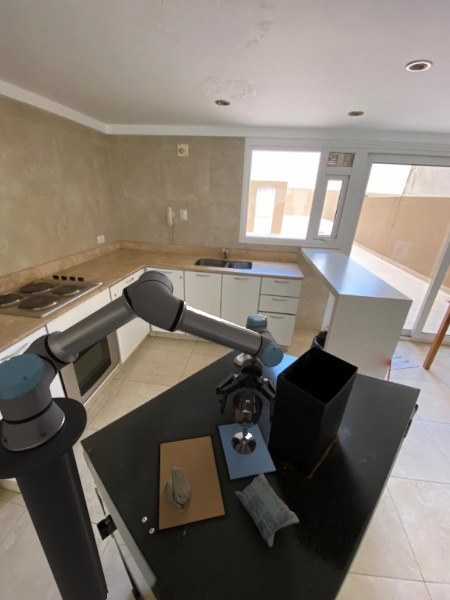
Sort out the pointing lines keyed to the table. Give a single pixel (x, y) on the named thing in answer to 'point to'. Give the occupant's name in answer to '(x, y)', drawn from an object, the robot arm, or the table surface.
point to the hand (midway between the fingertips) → (246, 415)
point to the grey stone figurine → (178, 491)
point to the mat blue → (245, 463)
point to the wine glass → (246, 420)
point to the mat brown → (190, 481)
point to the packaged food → (265, 508)
